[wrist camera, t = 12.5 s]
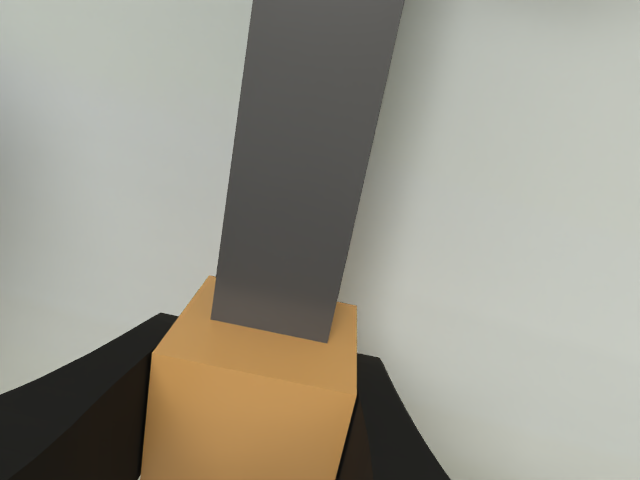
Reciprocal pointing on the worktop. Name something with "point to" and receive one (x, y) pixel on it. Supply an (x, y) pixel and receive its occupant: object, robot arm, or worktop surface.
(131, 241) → the worktop surface
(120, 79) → the worktop surface
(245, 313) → the plug
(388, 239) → the worktop surface
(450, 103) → the worktop surface
